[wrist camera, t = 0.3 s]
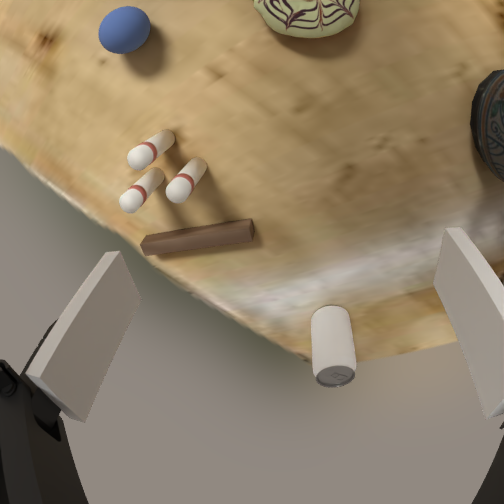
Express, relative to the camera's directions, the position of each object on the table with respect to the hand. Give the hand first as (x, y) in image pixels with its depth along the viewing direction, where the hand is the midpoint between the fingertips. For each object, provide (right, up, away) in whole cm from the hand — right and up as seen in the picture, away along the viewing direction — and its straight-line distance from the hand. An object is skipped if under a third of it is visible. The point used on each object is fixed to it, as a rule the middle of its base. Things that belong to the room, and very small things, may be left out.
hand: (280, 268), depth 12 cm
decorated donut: (+5, +29, +13) cm, 32 cm away
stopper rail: (-9, +3, +32) cm, 33 cm away
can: (+12, -10, +39) cm, 42 cm away
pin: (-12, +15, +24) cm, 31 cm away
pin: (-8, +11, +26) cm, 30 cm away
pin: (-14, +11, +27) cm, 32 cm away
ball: (-15, +25, +14) cm, 33 cm away
